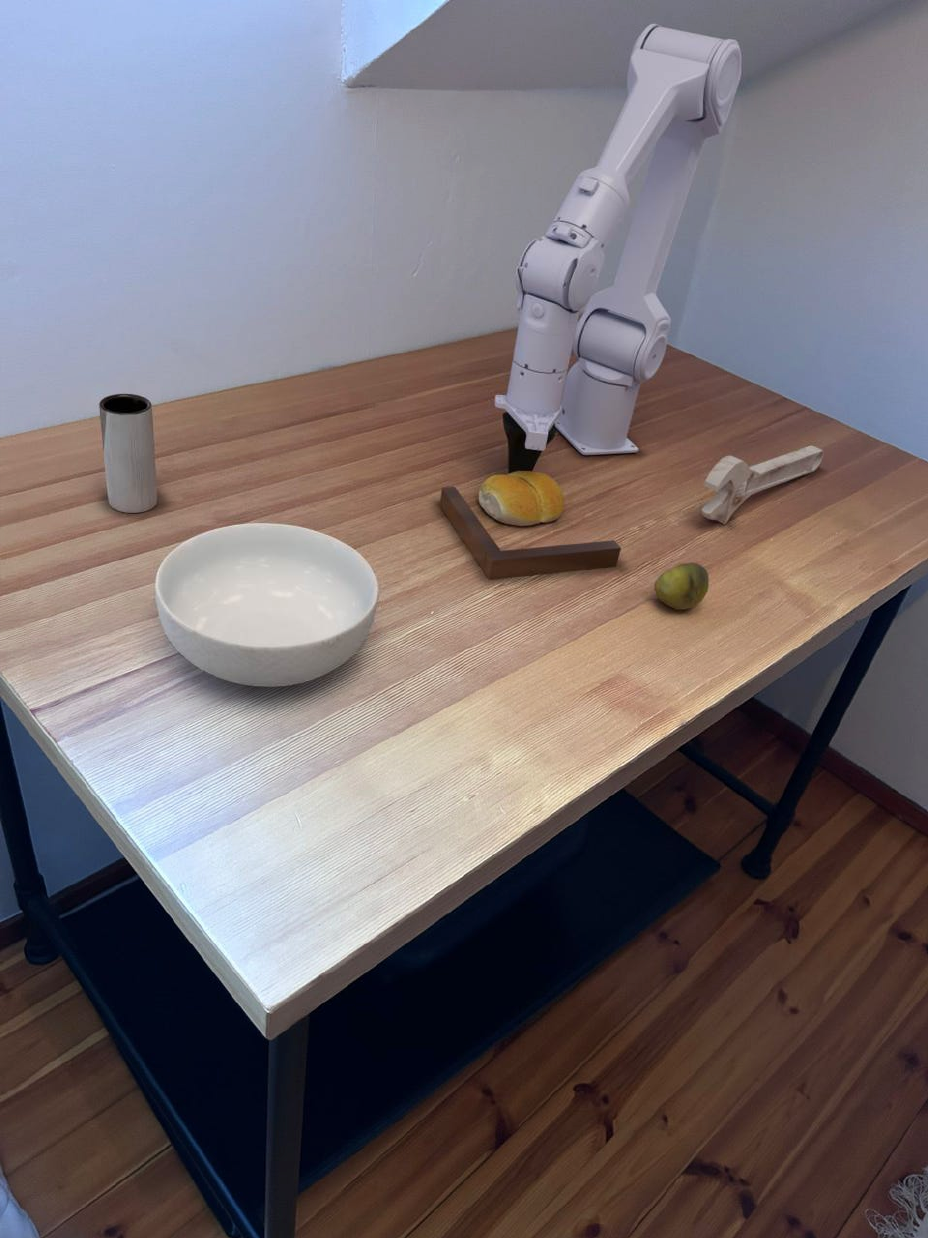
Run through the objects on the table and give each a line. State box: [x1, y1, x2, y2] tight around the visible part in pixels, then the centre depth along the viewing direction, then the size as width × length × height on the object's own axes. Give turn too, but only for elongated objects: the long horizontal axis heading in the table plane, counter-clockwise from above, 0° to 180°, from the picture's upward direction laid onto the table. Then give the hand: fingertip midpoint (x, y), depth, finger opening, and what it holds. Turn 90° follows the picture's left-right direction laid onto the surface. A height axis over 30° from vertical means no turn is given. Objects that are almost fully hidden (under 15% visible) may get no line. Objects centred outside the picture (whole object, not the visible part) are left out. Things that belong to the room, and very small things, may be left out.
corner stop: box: [439, 486, 622, 580], centre depth 97 cm, size 14×14×2 cm
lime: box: [654, 562, 710, 610], centre depth 89 cm, size 4×5×5 cm
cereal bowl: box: [154, 522, 380, 688], centre depth 75 cm, size 17×17×7 cm
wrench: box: [700, 445, 825, 525], centre depth 110 cm, size 8×2×30 cm
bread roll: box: [478, 471, 565, 527], centre depth 101 cm, size 8×9×4 cm
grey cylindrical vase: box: [98, 393, 158, 514], centre depth 89 cm, size 4×4×10 cm
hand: (518, 479), depth 105 cm, fingers closed
